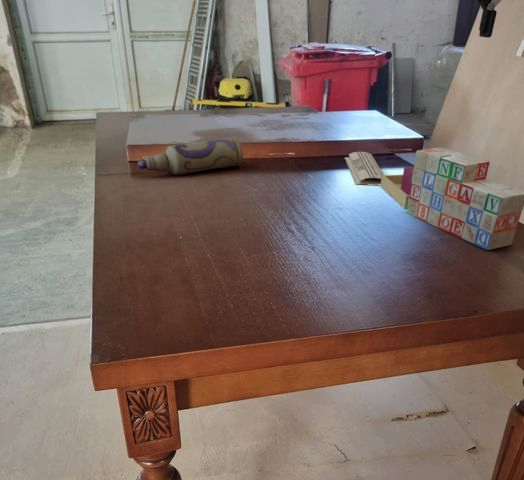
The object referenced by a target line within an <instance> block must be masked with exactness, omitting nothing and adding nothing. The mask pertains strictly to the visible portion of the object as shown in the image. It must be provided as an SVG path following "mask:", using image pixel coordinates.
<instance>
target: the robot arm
mask: <svg viewBox="0 0 524 480" xmlns="http://www.w3.org/2000/svg"><path fill="white" fill-rule="evenodd" d="M477 1H478V3H479V5H480V9H481V10H482V13H481V17H480V22H479V27H478V31H479V33H478V37H481V38H491V37H492V35H493V33H494V32H493V31H494V28H495V22H496V18H497V15H498V11H497V10H495V9H496V7H497V6H498V5H499V4H500V3H501V1H502V0H477Z"/></svg>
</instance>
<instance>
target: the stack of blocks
mask: <svg viewBox="0 0 524 480" xmlns="http://www.w3.org/2000/svg"><path fill="white" fill-rule="evenodd" d="M414 158H415V159H414V166H413V167H414V169H413V176H412V184H411V190H410V197H409V201H408V207H407V208H406V214H408V215H410V216H412V217H415V218H417V219H418V220H420V221H423V222H425V223H427V224H428V225H429V224H430V225H431V226H433V227H436V228H438V229H441V230H443V231H444V232H447V233H450V234H451V235H454V236H456V237H458V238H461V239H462V240H464V241H467V242H469V243H471V244H473V245H475V246H477V247H478V248H479V247H480V248H481V249H483V250H486V251H490V250H495V249H498V248H504V247H507V246H511V245H512V244H513V241H514V239H515V236H516V231H517V228H518V226H519V222H520V219H521V215H522V212H523V210H524V191H522V190H520V189H517V188H513V187H511V186H508V185H505V184H503V183H499V182H497V181H493V180H491V179H487V175H488V171H489V167H490V161H489V160H486V159H483V158H479V157H476V156H473V155H469V154H466V153H461V152H458V151H454V150H452V149H448V148H445V147H441V146H440V147H433V148H424V149H418V150H416V153H415V157H414Z"/></svg>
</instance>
